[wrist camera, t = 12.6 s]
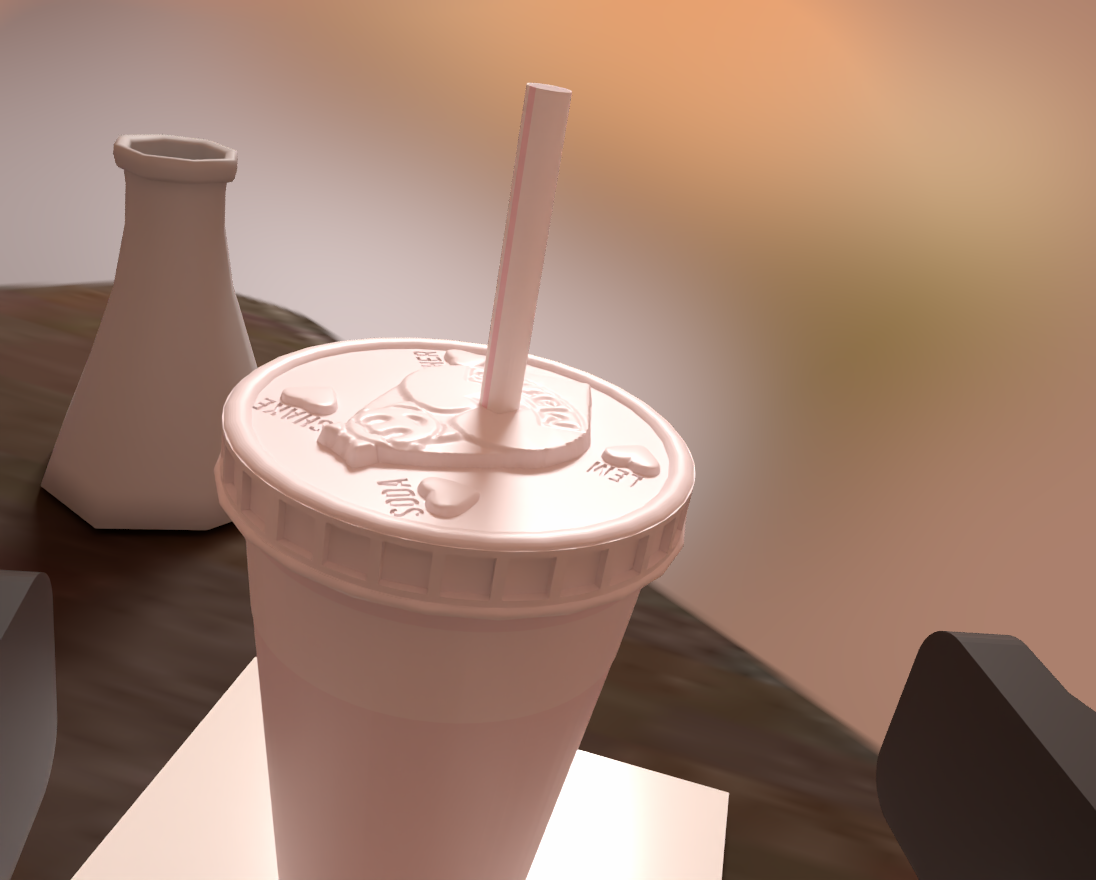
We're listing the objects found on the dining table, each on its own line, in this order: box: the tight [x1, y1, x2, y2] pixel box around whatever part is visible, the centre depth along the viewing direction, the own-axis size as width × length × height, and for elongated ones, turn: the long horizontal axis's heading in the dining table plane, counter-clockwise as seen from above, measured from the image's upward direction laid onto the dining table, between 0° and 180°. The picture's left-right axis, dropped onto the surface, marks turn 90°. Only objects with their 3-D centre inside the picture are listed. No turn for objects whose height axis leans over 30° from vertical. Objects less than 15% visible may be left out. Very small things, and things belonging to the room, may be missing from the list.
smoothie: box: [214, 83, 695, 880], centre depth 15 cm, size 6×6×14 cm
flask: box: [40, 134, 257, 530], centre depth 30 cm, size 7×7×10 cm
